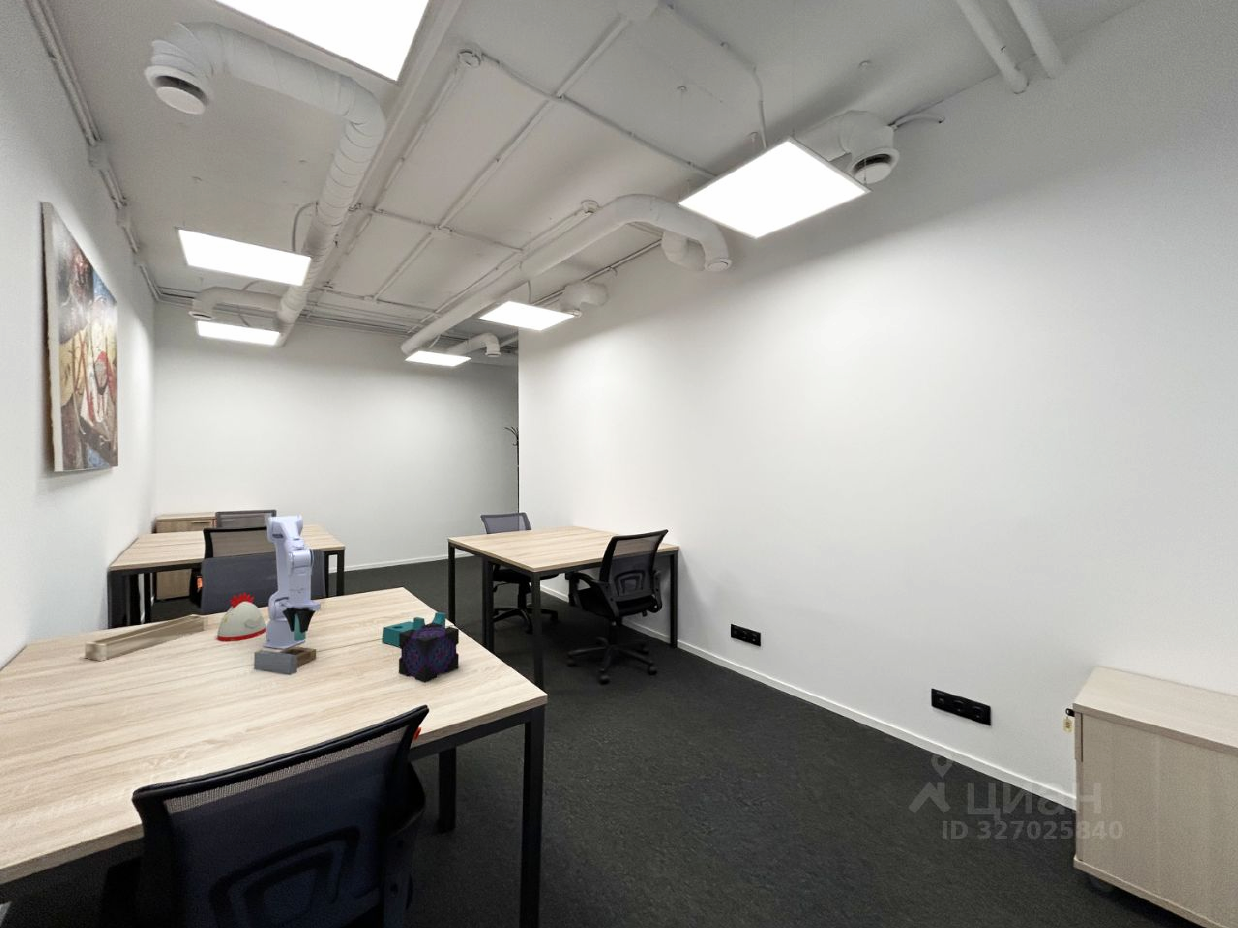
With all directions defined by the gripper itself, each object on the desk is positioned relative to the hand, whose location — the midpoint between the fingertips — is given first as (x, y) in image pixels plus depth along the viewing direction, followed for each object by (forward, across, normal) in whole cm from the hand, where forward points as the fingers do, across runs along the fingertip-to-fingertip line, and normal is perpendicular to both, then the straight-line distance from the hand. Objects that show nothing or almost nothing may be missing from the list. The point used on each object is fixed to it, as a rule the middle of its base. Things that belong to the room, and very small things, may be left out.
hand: (299, 631), depth 152 cm
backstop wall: (+9, -1, -7) cm, 12 cm away
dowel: (+2, 0, 0) cm, 3 cm away
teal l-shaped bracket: (+10, +24, +24) cm, 35 cm away
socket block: (+9, -1, -2) cm, 10 cm away
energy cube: (+10, +43, +5) cm, 45 cm away
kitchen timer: (+10, -41, +13) cm, 44 cm away
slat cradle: (+9, -62, -2) cm, 62 cm away
